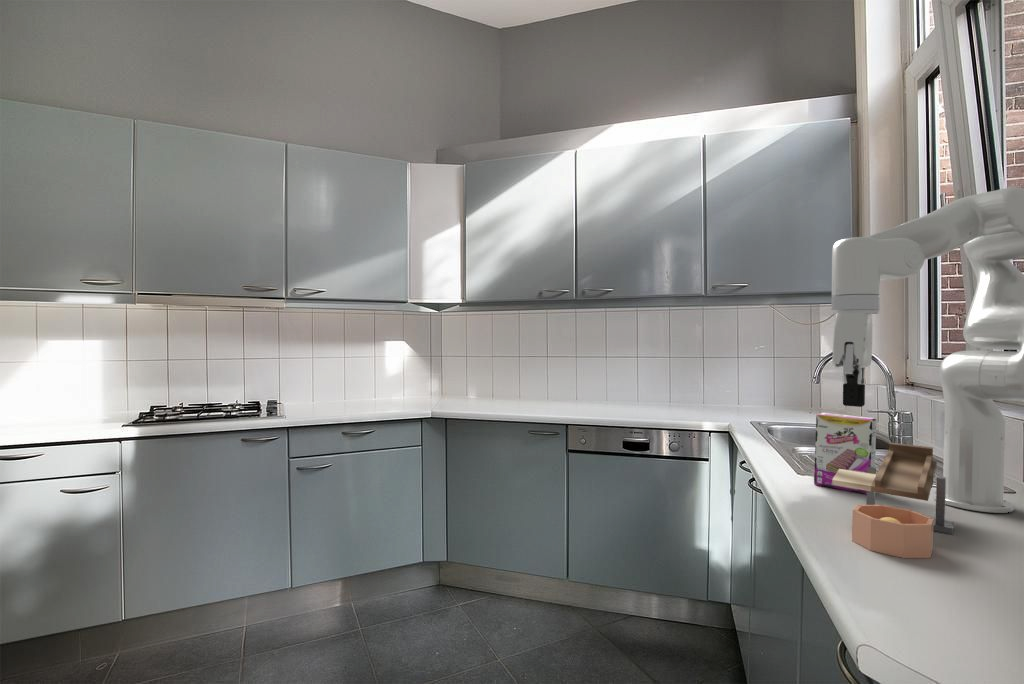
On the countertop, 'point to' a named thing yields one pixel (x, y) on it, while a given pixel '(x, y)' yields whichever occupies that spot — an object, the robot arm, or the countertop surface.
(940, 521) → the stand
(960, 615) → the countertop surface
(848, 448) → the candy bar box
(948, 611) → the countertop surface
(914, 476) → the wooden tray
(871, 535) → the salmon orange faceted bowl
